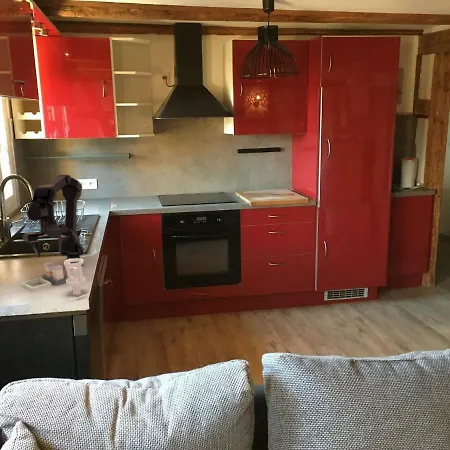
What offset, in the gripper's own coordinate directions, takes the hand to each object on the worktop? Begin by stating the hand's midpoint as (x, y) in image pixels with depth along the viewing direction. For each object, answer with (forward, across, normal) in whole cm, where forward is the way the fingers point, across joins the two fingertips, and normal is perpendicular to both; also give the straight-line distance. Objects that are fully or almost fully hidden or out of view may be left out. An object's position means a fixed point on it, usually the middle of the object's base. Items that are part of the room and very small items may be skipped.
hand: (50, 255), depth 204 cm
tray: (+12, -7, 0) cm, 14 cm away
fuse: (+11, +1, -3) cm, 12 cm away
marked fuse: (+11, +1, +3) cm, 11 cm away
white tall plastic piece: (+13, +1, -21) cm, 25 cm away
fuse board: (+12, +1, 0) cm, 12 cm away
